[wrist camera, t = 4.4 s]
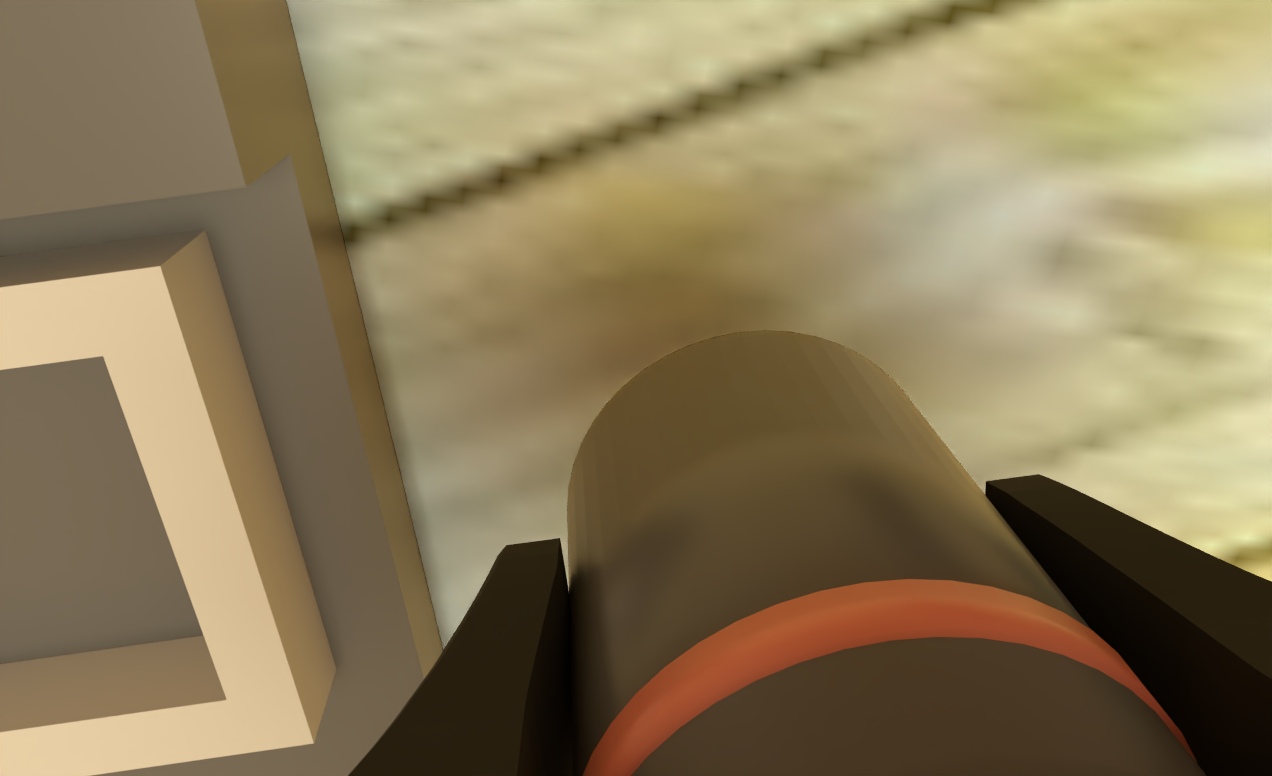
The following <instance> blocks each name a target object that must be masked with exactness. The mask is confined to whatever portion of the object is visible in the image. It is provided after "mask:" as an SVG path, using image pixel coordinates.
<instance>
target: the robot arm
mask: <svg viewBox="0 0 1272 776" xmlns="http://www.w3.org/2000/svg"><path fill="white" fill-rule="evenodd" d="M985 496H986V497H987V498H988V499H989V501H990V502H991V503H992V505H993V506H994V507H995V508H996V510H997V511H998V512H999V513H1000V515H1001V516H1002V517H1003V518H1004V520H1005V521H1006V522H1007V524H1008V525H1009V526H1010V527H1011V529H1012V530H1013V531H1014V532H1015V534H1016V535H1017V536H1018V537H1019V539H1020V540H1021V541H1022V543H1023V544H1024V545H1025V546H1026V548H1027V549H1028V550H1029V551H1030V553H1031V554H1032V555H1033V556H1034V558H1035V559H1036V560H1037V562H1038V563H1039V564H1040V565H1041V567H1042V568H1043V569H1044V570H1045V572H1046V573H1047V574H1048V575H1049V577H1050V578H1051V579H1052V581H1053V582H1054V583H1055V584H1056V586H1057V587H1058V588H1059V589H1060V591H1061V592H1062V593H1063V594H1064V596H1065V597H1066V598H1067V599H1068V601H1069V602H1070V603H1071V605H1072V606H1073V607H1074V608H1075V610H1076V611H1077V612H1078V613H1079V615H1080V616H1081V617H1082V618H1083V620H1084V621H1085V622H1086V624H1087V625H1088V626H1089V627H1090V629H1091V630H1092V631H1094V632H1095V633H1096V634H1097V635H1098V636H1099V637H1100V638H1102V639H1103V640H1104V641H1105V642H1106V643H1107V644H1108V645H1109V646H1111V647H1112V648H1113V649H1114V650H1115V651H1116V652H1117V653H1118V654H1119V655H1120V656H1121V657H1122V659H1123V660H1124V661H1125V662H1126V664H1127V665H1128V666H1129V667H1130V669H1131V670H1132V671H1133V672H1134V674H1135V675H1136V676H1137V677H1138V679H1139V680H1140V681H1141V682H1142V684H1143V685H1144V686H1145V687H1146V689H1147V690H1148V691H1149V692H1150V694H1151V695H1152V696H1153V697H1154V699H1155V700H1156V701H1157V702H1158V704H1159V705H1160V706H1161V707H1162V709H1163V710H1164V711H1165V712H1166V714H1167V715H1168V716H1169V717H1170V719H1171V720H1172V721H1173V722H1174V724H1175V725H1176V726H1177V727H1178V729H1179V730H1180V731H1181V732H1182V734H1183V736H1184V738H1185V740H1186V742H1187V744H1188V746H1189V747H1190V749H1191V751H1192V753H1193V755H1194V757H1195V759H1196V761H1197V764H1198V765H1199V767H1200V768H1201V769H1202V770H1203V772H1204V773H1205V774H1206V776H1272V582H1271V581H1269V580H1266V579H1264V578H1261V577H1259V576H1257V575H1254V574H1252V573H1250V572H1247V571H1245V570H1243V569H1240V568H1238V567H1236V566H1234V565H1232V564H1229V563H1227V562H1225V561H1223V560H1220V559H1218V558H1216V557H1214V556H1212V555H1210V554H1207V553H1205V552H1203V551H1201V550H1199V549H1197V548H1195V547H1192V546H1190V545H1188V544H1186V543H1184V542H1182V541H1180V540H1178V539H1176V538H1174V537H1171V536H1169V535H1167V534H1165V533H1163V532H1161V531H1159V530H1157V529H1155V528H1153V527H1151V526H1149V525H1147V524H1145V523H1143V522H1141V521H1138V520H1136V519H1134V518H1132V517H1130V516H1128V515H1126V514H1124V513H1122V512H1120V511H1118V510H1116V509H1114V508H1112V507H1110V506H1108V505H1106V504H1104V503H1102V502H1100V501H1098V500H1096V499H1094V498H1091V497H1089V496H1087V495H1085V494H1083V493H1081V492H1079V491H1077V490H1075V489H1072V488H1070V487H1068V486H1066V485H1064V484H1061V483H1059V482H1057V481H1054V480H1052V479H1049V478H1047V477H1044V476H1042V475H1039V474H1038V475H1030V476H1023V477H1015V478H1008V479H1000V480H993V481H986V494H985ZM348 776H573V743H572V699H571V655H570V611H569V591H568V585H567V579H566V572H565V566H564V560H563V554H562V548H561V542H560V538H558V539H551V540H543V541H536V542H528V543H521V544H513V545H506V547H505V548H504V549H503V550H502V551H501V552H500V554H499V555H498V556H497V558H496V560H495V562H494V564H493V566H492V568H491V570H490V572H489V574H488V576H487V578H486V580H485V582H484V584H483V585H482V587H481V589H480V591H479V593H478V594H477V596H476V598H475V600H474V601H473V603H472V605H471V607H470V608H469V610H468V612H467V613H466V615H465V617H464V619H463V620H462V622H461V623H460V625H459V626H458V628H457V630H456V631H455V633H454V634H453V636H452V638H451V639H450V641H449V642H448V644H447V645H446V647H445V649H444V650H443V652H442V653H441V655H440V657H439V658H438V660H437V661H436V663H435V664H434V666H433V667H432V669H431V670H430V671H429V673H428V674H427V676H426V677H425V678H424V680H423V681H422V682H421V684H420V685H419V687H418V688H417V689H416V691H415V692H414V693H413V695H412V696H411V698H410V699H409V700H408V702H407V703H406V704H405V706H404V707H403V709H402V710H401V711H400V713H399V714H398V716H397V717H396V718H395V720H394V721H393V722H392V723H391V725H390V726H389V727H388V728H387V730H386V731H385V732H384V733H383V735H382V736H381V737H380V738H379V740H378V741H377V742H376V743H375V745H374V746H373V747H372V748H371V749H370V751H369V752H368V753H367V754H366V755H365V756H364V758H363V759H362V760H361V761H360V762H359V763H358V764H357V766H356V767H355V768H354V769H353V770H352V771H351V772H350V774H349V775H348Z"/></svg>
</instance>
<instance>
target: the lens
mask: <svg viewBox="0 0 1272 776" xmlns="http://www.w3.org/2000/svg"><path fill="white" fill-rule="evenodd" d="M567 523H568V567H569V611H570V655H571V699H572V743H573V776H1206V774H1205V773H1204V772H1203V770H1202V769H1201V768H1200V767H1199V765H1198V764H1197V761H1196V759H1195V757H1194V755H1193V753H1192V751H1191V749H1190V747H1189V746H1188V744H1187V742H1186V740H1185V738H1184V736H1183V734H1182V732H1181V731H1180V730H1179V729H1178V727H1177V726H1176V725H1175V724H1174V722H1173V721H1172V720H1171V719H1170V717H1169V716H1168V715H1167V714H1166V712H1165V711H1164V710H1163V709H1162V707H1161V706H1160V705H1159V704H1158V702H1157V701H1156V700H1155V699H1154V697H1153V696H1152V695H1151V694H1150V692H1149V691H1148V690H1147V689H1146V687H1145V686H1144V685H1143V684H1142V682H1141V681H1140V680H1139V679H1138V677H1137V676H1136V675H1135V674H1134V672H1133V671H1132V670H1131V669H1130V667H1129V666H1128V665H1127V664H1126V662H1125V661H1124V660H1123V659H1122V657H1121V656H1120V655H1119V654H1118V653H1117V652H1116V651H1115V650H1114V649H1113V648H1112V647H1111V646H1109V645H1108V644H1107V643H1106V642H1105V641H1104V640H1103V639H1102V638H1100V637H1099V636H1098V635H1097V634H1096V633H1095V632H1094V631H1092V630H1091V629H1090V627H1089V626H1088V625H1087V624H1086V622H1085V621H1084V620H1083V618H1082V617H1081V616H1080V615H1079V613H1078V612H1077V611H1076V610H1075V608H1074V607H1073V606H1072V605H1071V603H1070V602H1069V601H1068V599H1067V598H1066V597H1065V596H1064V594H1063V593H1062V592H1061V591H1060V589H1059V588H1058V587H1057V586H1056V584H1055V583H1054V582H1053V581H1052V579H1051V578H1050V577H1049V575H1048V574H1047V573H1046V572H1045V570H1044V569H1043V568H1042V567H1041V565H1040V564H1039V563H1038V562H1037V560H1036V559H1035V558H1034V556H1033V555H1032V554H1031V553H1030V551H1029V550H1028V549H1027V548H1026V546H1025V545H1024V544H1023V543H1022V541H1021V540H1020V539H1019V537H1018V536H1017V535H1016V534H1015V532H1014V531H1013V530H1012V529H1011V527H1010V526H1009V525H1008V524H1007V522H1006V521H1005V520H1004V518H1003V517H1002V516H1001V515H1000V513H999V512H998V511H997V510H996V508H995V507H994V506H993V505H992V503H991V502H990V501H989V499H988V498H987V497H986V496H985V494H984V493H983V492H982V491H981V489H980V488H979V487H978V486H977V484H976V483H975V482H974V480H973V479H972V478H971V477H970V475H969V474H968V473H967V472H966V470H965V469H964V468H963V467H962V465H961V464H960V463H959V461H958V460H957V459H956V458H955V456H954V455H953V454H952V453H951V451H950V450H949V449H948V448H947V446H946V445H945V444H944V442H943V441H942V440H941V439H940V437H939V436H938V435H937V434H936V432H935V431H934V430H933V429H932V427H931V426H930V425H929V423H928V422H927V421H926V420H925V418H924V417H923V416H922V415H921V413H920V412H919V411H918V410H917V408H916V407H915V406H914V404H913V403H912V402H911V401H910V399H909V398H908V397H907V396H906V394H905V393H904V392H903V391H902V389H901V388H900V387H899V386H898V384H897V383H896V382H895V381H894V380H893V379H891V378H890V377H889V376H888V375H887V374H886V373H885V372H884V371H883V370H882V369H881V368H879V367H878V366H876V365H875V364H873V363H872V362H871V361H869V360H868V359H866V358H865V357H863V356H862V355H860V354H858V353H856V352H854V351H852V350H850V349H848V348H846V347H844V346H842V345H840V344H837V343H834V342H831V341H828V340H825V339H822V338H819V337H815V336H810V335H805V334H799V333H794V332H783V331H751V332H739V333H734V334H728V335H723V336H718V337H713V338H710V339H707V340H704V341H701V342H698V343H695V344H692V345H689V346H687V347H684V348H682V349H680V350H678V351H676V352H674V353H671V354H669V355H667V356H665V357H663V358H662V359H660V360H659V361H657V362H655V363H654V364H652V365H651V366H649V367H647V368H646V369H644V370H643V371H642V372H640V373H639V374H638V375H637V376H635V377H634V378H633V379H632V380H630V381H629V382H628V383H627V384H625V385H624V386H623V387H622V388H621V389H620V390H619V391H618V392H617V393H616V394H615V395H614V397H613V398H612V399H611V400H610V401H609V402H608V403H607V404H606V405H605V407H604V408H603V409H602V411H601V412H600V413H599V415H598V416H597V417H596V419H595V420H594V422H593V423H592V425H591V427H590V428H589V430H588V432H587V434H586V436H585V438H584V439H583V441H582V443H581V446H580V448H579V451H578V454H577V456H576V459H575V462H574V464H573V469H572V473H571V478H570V482H569V488H568V503H567Z"/></svg>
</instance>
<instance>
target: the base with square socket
mask: <svg viewBox="0 0 1272 776" xmlns="http://www.w3.org/2000/svg"><path fill="white" fill-rule="evenodd" d="M442 652H443V649H442V644H441V640H440V636H439V632H438V628H437V624H436V620H435V616H434V611H433V607H432V603H431V599H430V595H429V591H428V587H427V582H426V578H425V574H424V570H423V566H422V562H421V558H420V554H419V549H418V545H417V541H416V537H415V533H414V529H413V525H412V521H411V516H410V512H409V508H408V504H407V500H406V496H405V492H404V487H403V483H402V479H401V475H400V471H399V467H398V463H397V459H396V454H395V450H394V446H393V442H392V438H391V434H390V430H389V425H388V421H387V417H386V413H385V409H384V405H383V401H382V397H381V392H380V388H379V384H378V380H377V376H376V372H375V368H374V364H373V359H372V355H371V351H370V347H369V343H368V339H367V335H366V330H365V326H364V322H363V318H362V314H361V310H360V306H359V302H358V297H357V293H356V289H355V285H354V281H353V277H352V273H351V268H350V264H349V260H348V256H347V252H346V248H345V244H344V240H343V235H342V231H341V227H340V223H339V219H338V215H337V211H336V207H335V202H334V198H333V194H332V190H331V186H330V182H329V178H328V173H327V169H326V165H325V161H324V157H323V153H322V149H321V145H320V140H319V136H318V132H317V128H316V124H315V120H314V116H313V112H312V107H311V103H310V99H309V95H308V91H307V87H306V83H305V78H304V74H303V70H302V66H301V62H300V58H299V54H298V50H297V45H296V41H295V37H294V33H293V29H292V25H291V21H290V16H289V12H288V8H287V4H286V0H0V776H348V775H349V774H350V772H351V771H352V770H353V769H354V768H355V767H356V766H357V764H358V763H359V762H360V761H361V760H362V759H363V758H364V756H365V755H366V754H367V753H368V752H369V751H370V749H371V748H372V747H373V746H374V745H375V743H376V742H377V741H378V740H379V738H380V737H381V736H382V735H383V733H384V732H385V731H386V730H387V728H388V727H389V726H390V725H391V723H392V722H393V721H394V720H395V718H396V717H397V716H398V714H399V713H400V711H401V710H402V709H403V707H404V706H405V704H406V703H407V702H408V700H409V699H410V698H411V696H412V695H413V693H414V692H415V691H416V689H417V688H418V687H419V685H420V684H421V682H422V681H423V680H424V678H425V677H426V676H427V674H428V673H429V671H430V670H431V669H432V667H433V666H434V664H435V663H436V661H437V660H438V658H439V657H440V655H441V653H442Z"/></svg>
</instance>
